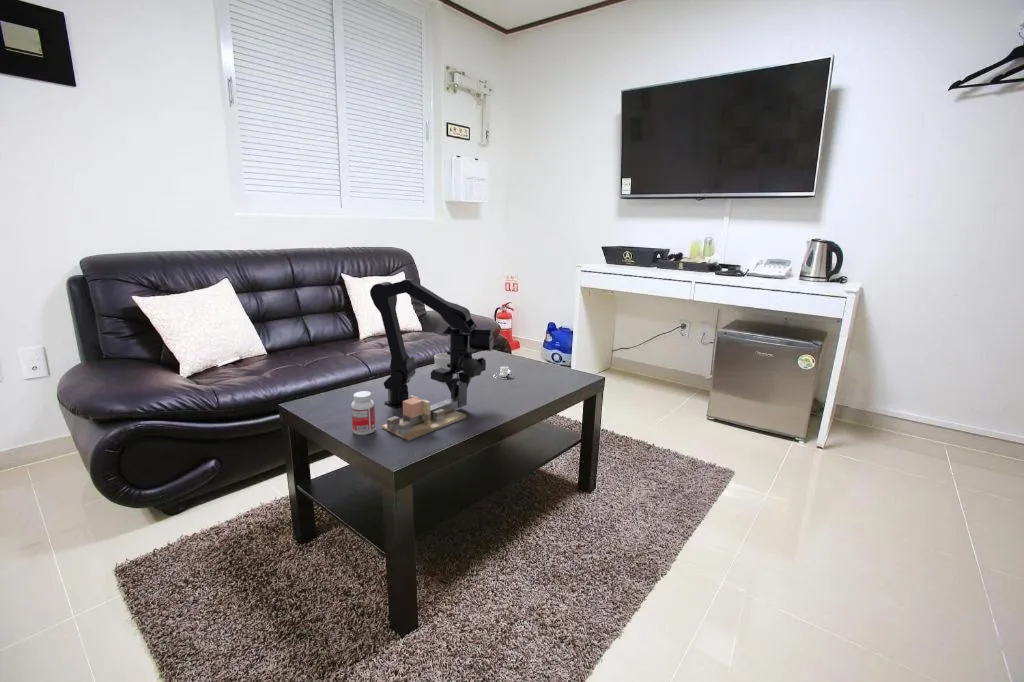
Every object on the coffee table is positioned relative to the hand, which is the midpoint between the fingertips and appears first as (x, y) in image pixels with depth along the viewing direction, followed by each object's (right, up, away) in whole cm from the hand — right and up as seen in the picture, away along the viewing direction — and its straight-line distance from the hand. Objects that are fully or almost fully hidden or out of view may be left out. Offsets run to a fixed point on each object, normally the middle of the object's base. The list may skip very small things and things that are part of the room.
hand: (458, 396), depth 150 cm
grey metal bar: (-6, -4, -6) cm, 10 cm away
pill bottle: (-25, -8, -16) cm, 31 cm away
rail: (-9, -7, -9) cm, 15 cm away
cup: (-9, +4, +36) cm, 37 cm away
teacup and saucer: (+17, +3, +36) cm, 40 cm away
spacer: (-12, -4, -14) cm, 18 cm away
